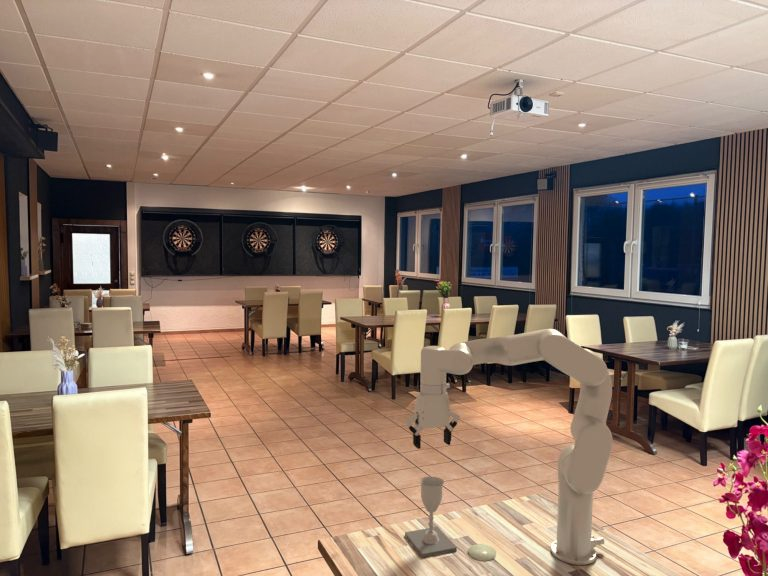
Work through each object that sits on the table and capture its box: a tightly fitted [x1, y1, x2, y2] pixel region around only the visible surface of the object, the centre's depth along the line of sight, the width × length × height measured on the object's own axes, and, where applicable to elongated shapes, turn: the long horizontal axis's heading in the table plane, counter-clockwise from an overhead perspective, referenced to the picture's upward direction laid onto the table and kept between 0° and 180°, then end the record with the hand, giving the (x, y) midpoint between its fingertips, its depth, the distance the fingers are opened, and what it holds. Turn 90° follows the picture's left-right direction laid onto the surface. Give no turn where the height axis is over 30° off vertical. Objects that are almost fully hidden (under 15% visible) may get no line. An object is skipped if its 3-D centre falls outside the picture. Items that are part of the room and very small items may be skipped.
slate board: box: [404, 526, 457, 558], centre depth 170 cm, size 11×13×1 cm
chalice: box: [419, 476, 445, 544], centre depth 170 cm, size 7×7×18 cm
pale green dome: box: [467, 543, 497, 562], centre depth 165 cm, size 8×8×1 cm
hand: (432, 445), depth 168 cm, fingers open, 9 cm apart
